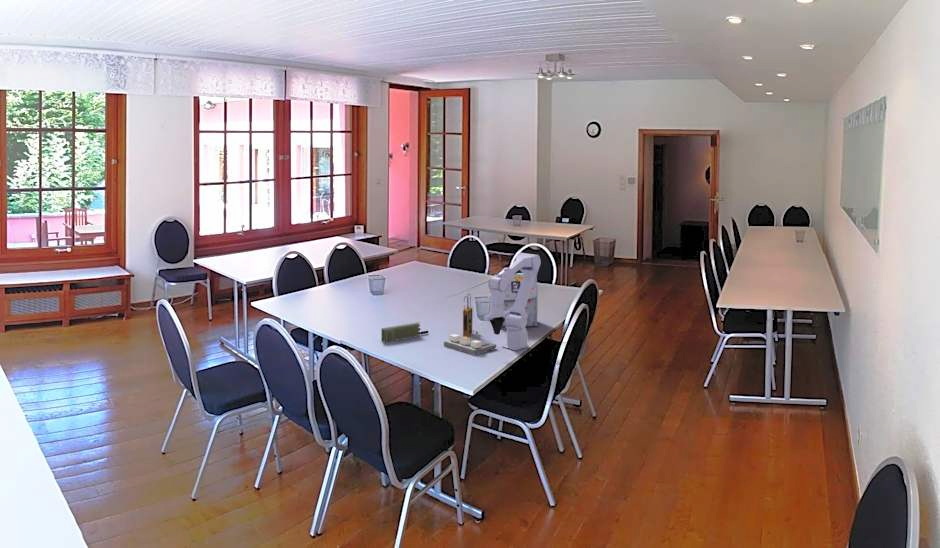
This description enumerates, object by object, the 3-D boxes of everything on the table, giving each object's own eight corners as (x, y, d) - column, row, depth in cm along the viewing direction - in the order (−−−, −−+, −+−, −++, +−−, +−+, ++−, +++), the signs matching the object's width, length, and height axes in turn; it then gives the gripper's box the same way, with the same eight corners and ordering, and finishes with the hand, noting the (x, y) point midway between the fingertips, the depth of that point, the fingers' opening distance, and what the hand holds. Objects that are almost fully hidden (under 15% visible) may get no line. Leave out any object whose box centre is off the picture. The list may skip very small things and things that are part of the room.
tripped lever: (464, 342, 346) (464, 336, 345) (470, 343, 343) (470, 338, 343) (459, 343, 344) (459, 337, 343) (465, 345, 341) (465, 339, 340)
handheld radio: (380, 341, 356) (426, 333, 369) (383, 343, 353) (429, 335, 367) (380, 327, 354) (426, 320, 368) (383, 329, 351) (429, 322, 365)
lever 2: (475, 345, 341) (475, 340, 340) (481, 347, 338) (481, 341, 338) (470, 346, 339) (470, 341, 338) (476, 348, 336) (476, 343, 336)
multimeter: (480, 340, 358) (481, 299, 354) (460, 338, 360) (460, 297, 357) (488, 332, 372) (489, 292, 368) (469, 330, 374) (469, 291, 370)
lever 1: (454, 339, 351) (454, 334, 350) (459, 340, 348) (459, 335, 348) (449, 340, 349) (449, 335, 348) (454, 342, 346) (454, 336, 346)
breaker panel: (465, 340, 358) (465, 335, 357) (496, 348, 344) (496, 344, 343) (443, 345, 348) (443, 341, 348) (474, 355, 334) (474, 350, 334)
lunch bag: (493, 328, 379) (493, 276, 374) (493, 319, 396) (494, 270, 391) (537, 329, 379) (539, 277, 374) (536, 320, 395) (537, 270, 390)
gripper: (502, 299, 339) (501, 329, 341) (479, 305, 329) (478, 335, 331) (513, 302, 334) (513, 332, 336) (490, 307, 324) (490, 338, 326)
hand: (496, 333), depth 333 cm, fingers closed
